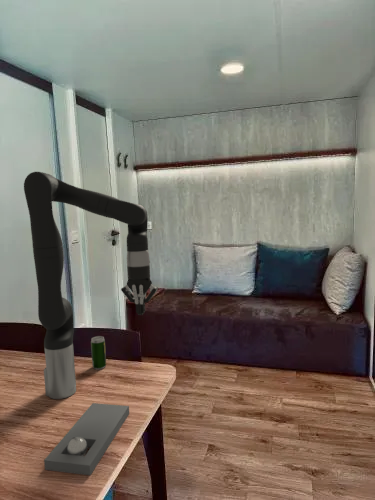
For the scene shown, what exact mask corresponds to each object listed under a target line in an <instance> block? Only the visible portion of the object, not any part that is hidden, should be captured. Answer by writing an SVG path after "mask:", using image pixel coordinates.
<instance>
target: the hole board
mask: <svg viewBox="0 0 375 500" xmlns="http://www.w3.org/2000/svg"><path fill="white" fill-rule="evenodd" d="M129 415H130V406H129V405H122V404H121V405H120V404H109V403H98V402H97V403H96V402H92V403H91V404H90V406H89V407H87V409H86V410H85V412H84V413H83V414H82V415H81V417H79V419H78V420H77V421H76V422H75V423H74V424H73V426H71V428H70V430H69V431H68V432H67V433H66V434H65V435H64V437H62V439H61V440H60V441H58V443H57V445H56V446H55V447H54V448H53V449H52V451H50V452H49V454H48V455H47V456H46V458H44V460H43V463H44V470H45V471H46V470H47V471H51V472H52V471H54V472H61V473H70V474H76V475H84V476H91V475H92V473H93V472H94V470H95V469H96V468H97V465H98V464H99V463H100V462H101V460H102V458H103V456H104V454H105V453H106V451H107V450H108V448H109V447H110V445H111V444H112V442H113V441H114V438H115V437H116V436H117V434H118V432H119V431H120V429H121V428H122V426H123V425H124V423H125V422H126V421H127V418H128V417H129ZM76 437H81V438H84V439H85V440H86V442H87V446H88V448H87V449H89V450H87V452H86V454H85V455H84V456H76V455H68V453H67V447H68V444H69V442H70V441H71V440H72V439H74V438H76Z"/></svg>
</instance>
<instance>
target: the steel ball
mask: <svg viewBox="0 0 375 500" xmlns="http://www.w3.org/2000/svg"><path fill="white" fill-rule="evenodd" d="M88 449H89V448H88V446H87V442H86V440H85V439H84V438H81V437H76V438H74V439H72V440H71V441H70V442H69V444H68V447H67V453H68V455H76V456H85V455H86V454H87V452H88Z"/></svg>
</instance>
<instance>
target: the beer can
mask: <svg viewBox="0 0 375 500" xmlns="http://www.w3.org/2000/svg"><path fill="white" fill-rule="evenodd" d="M90 349H91V350H90V351H91V363H92V368H93V370H98V371H99V370H103V369H105V368H106V366H107V357H106V356H107V355H106V340H105V337H104V336H102V335H97V336H93V337H91V341H90Z"/></svg>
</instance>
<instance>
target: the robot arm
mask: <svg viewBox="0 0 375 500" xmlns="http://www.w3.org/2000/svg"><path fill="white" fill-rule="evenodd" d="M23 191H24V196H25V200H26V204H27V208H28V214H29V220H30V233H31V239H32V240H31V241H32V253H33V261H34V269H35V277H36V282H37V294H38V295H37V297H38V298H37V299H38V300H37V301H38V302H37V305H38V306H37V307H38V309H37V310H38V311H37V312H38V313H37V315H38V320H39V322H40V324H41V325H42V327H44V328H45V329H46V332H45V336H44V339H43V347H44V357H45V358H44V359H45V368H44V369H43V378H44V380H43V381H44V388H45V390H44V391H45V396H47V397H49V398H50V399H54V400H61V399H65V398H68V397H71V396H72V395H74V394H75V393H76V391H77V383H76V382H77V381H76V379H77V378H76V369H75V354H74V352H75V351H74V342H73V341H74V332H75V330H74V329H75V327H74V326H75V325H74V312H73V306H72V303H71V302H70V301H69V300H68V299H66V298H65V297H63V296H62V279H63V273H64V272H63V271H64V266H65V265H64V263H65V257H64V255H65V254H64V246H63V240H62V239H63V238H62V236H61V234H60V231H59V228H58V226H57V224H56V221H55V218H54V212H53V203H54V202H55V203H62V204H68V205H72V206H74V207H77V208H79V209H81V210H84V211H87V212H88V213H92V214H94V215H99V216H101V217H105V218H109V219H113V220H116V221H118V222H121V223H124V224H127V236H126V267H127V269H126V270H127V282H126V284H125V286H123V287H121V289H120V291H121V293H123V294H124V296H125V297H126V298H127V300H128V301H129V302H130V303H133V304H135V313H136V314H137V315H138V316H143V315H144V314H145V312H146V303H149V302H150V301H151V300H152V298H153V297H154V296H155V294H156V293H157V292H158V289H159V287H158V286H155V285H153V282H152V280H151V265H150V263H151V261H150V253H149V240H148V221H149V220H148V219H149V218H148V211H147V209H146V208H145V207H144V206H143V205H141V204H139V203H138V204H137V203H135V202H129V201H125V200H122V199H119V198H116V197H114V196H111V195H109V194H108V195H107V194H105V193H100V192H99V191H98V192H97V191H93V190H89V189H86V188H81V187H78V186H74V185H71V184H69V183H67V182H65V181H63V180H60V179H58V178H57V177H54V176H53V175H51V174H49V173H46V172H41V171H33V172H30V173H28V174H27V176H26V177H25V179H24V181H23ZM148 291H149V293H148V295H147V292H148Z"/></svg>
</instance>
